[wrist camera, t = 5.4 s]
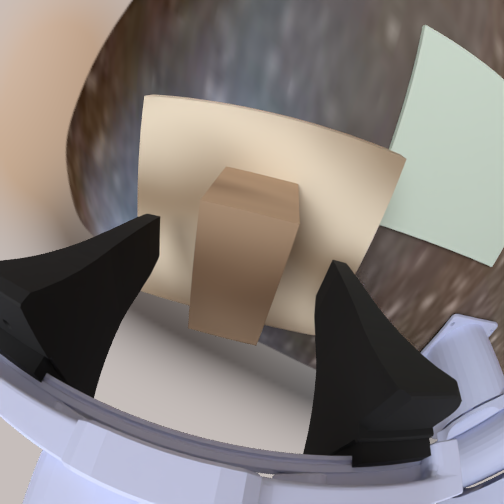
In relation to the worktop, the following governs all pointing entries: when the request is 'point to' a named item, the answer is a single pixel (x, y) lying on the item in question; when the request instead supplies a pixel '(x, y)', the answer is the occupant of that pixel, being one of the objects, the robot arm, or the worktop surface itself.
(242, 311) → the lid
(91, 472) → the robot arm
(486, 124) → the mat
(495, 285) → the worktop surface
